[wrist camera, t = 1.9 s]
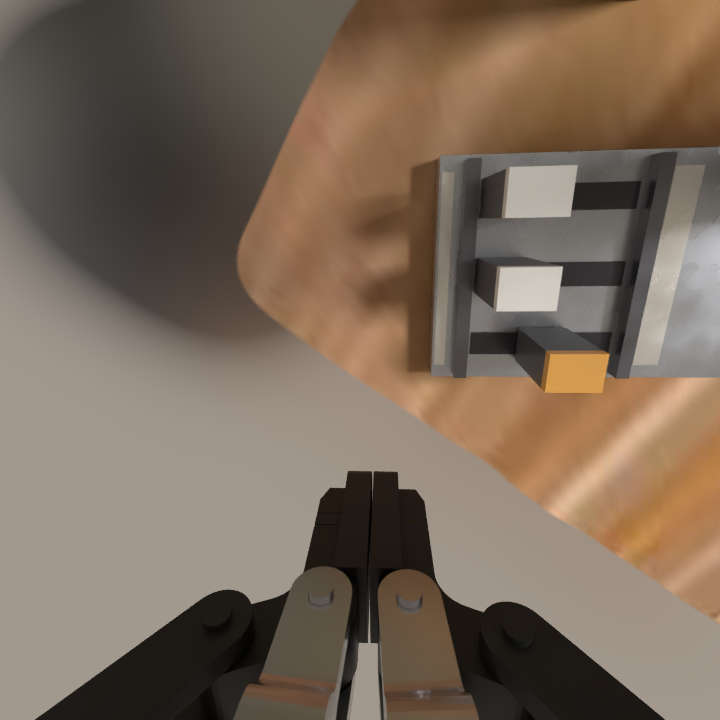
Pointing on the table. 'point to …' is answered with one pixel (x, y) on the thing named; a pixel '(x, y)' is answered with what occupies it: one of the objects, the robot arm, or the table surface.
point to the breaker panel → (587, 262)
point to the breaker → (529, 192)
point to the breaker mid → (518, 283)
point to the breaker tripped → (561, 360)
